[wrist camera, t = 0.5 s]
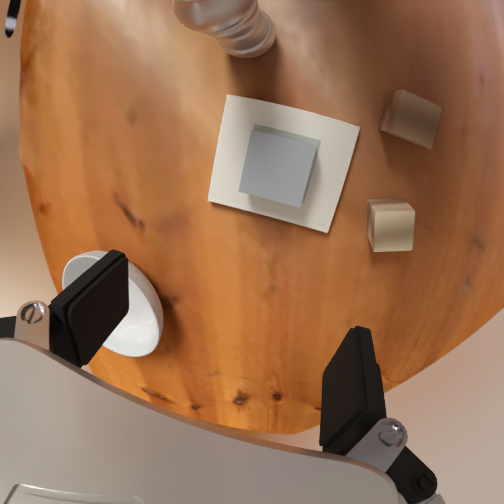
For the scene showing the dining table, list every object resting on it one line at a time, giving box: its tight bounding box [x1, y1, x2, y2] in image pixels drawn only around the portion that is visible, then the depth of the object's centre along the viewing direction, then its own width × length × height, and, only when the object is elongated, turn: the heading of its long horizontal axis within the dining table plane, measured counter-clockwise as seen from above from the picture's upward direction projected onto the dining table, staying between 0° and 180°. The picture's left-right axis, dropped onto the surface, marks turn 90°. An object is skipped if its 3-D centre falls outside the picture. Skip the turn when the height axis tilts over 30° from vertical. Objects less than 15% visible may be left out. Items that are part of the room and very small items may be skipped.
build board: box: [208, 94, 360, 233], centre depth 34 cm, size 14×16×1 cm
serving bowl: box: [62, 251, 163, 357], centre depth 47 cm, size 21×21×7 cm
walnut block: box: [378, 89, 443, 150], centre depth 27 cm, size 5×5×6 cm
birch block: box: [367, 199, 415, 252], centre depth 33 cm, size 5×5×5 cm
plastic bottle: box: [172, 0, 276, 58], centre depth 19 cm, size 6×7×20 cm
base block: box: [238, 129, 317, 208], centre depth 32 cm, size 7×7×4 cm
